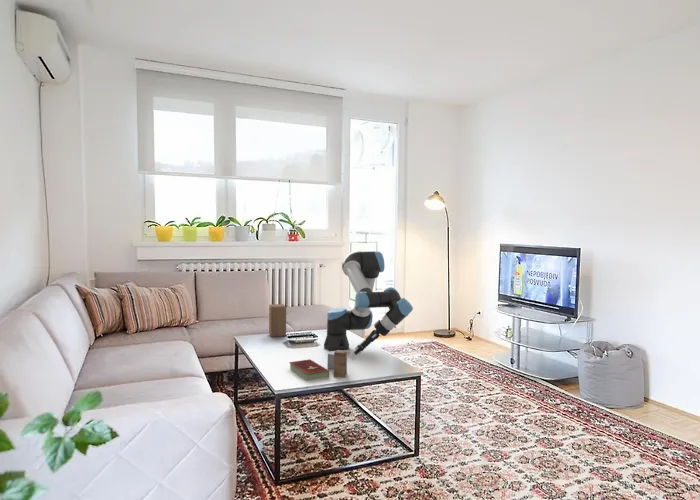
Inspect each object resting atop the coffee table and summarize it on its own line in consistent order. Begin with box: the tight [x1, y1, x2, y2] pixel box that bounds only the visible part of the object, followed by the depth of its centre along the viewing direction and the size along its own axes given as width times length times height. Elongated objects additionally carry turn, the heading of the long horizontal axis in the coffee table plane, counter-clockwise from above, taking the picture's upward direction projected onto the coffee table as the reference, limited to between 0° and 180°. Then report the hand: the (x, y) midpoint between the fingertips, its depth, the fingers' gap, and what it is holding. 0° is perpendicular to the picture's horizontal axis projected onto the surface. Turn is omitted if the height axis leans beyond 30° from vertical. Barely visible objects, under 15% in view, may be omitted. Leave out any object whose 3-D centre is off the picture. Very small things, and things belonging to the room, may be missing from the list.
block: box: [268, 303, 287, 338], centre depth 316 cm, size 10×10×20 cm
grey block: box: [326, 350, 335, 371], centre depth 246 cm, size 6×6×8 cm
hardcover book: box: [289, 359, 330, 382], centre depth 238 cm, size 12×21×4 cm, turn 30°
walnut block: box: [333, 350, 348, 379], centre depth 234 cm, size 5×5×12 cm
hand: (353, 354), depth 231 cm, fingers open, 13 cm apart
